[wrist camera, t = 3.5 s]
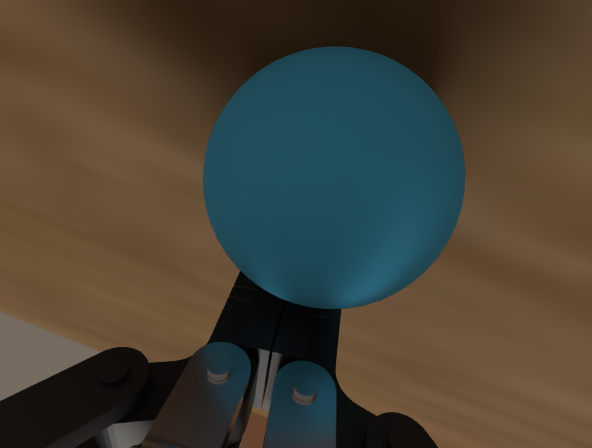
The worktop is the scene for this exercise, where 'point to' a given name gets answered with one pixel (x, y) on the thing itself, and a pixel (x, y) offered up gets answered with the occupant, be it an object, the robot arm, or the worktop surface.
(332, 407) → the robot arm
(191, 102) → the worktop surface
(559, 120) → the worktop surface
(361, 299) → the ball
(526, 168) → the worktop surface
